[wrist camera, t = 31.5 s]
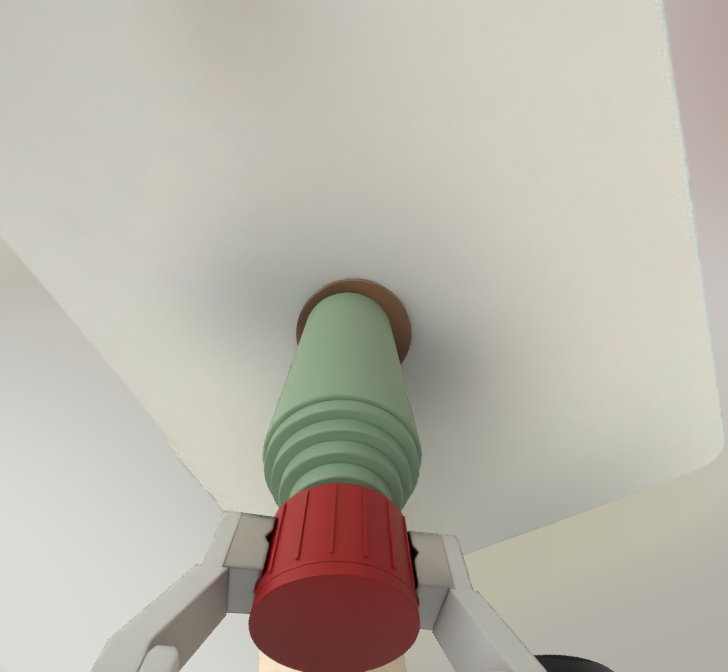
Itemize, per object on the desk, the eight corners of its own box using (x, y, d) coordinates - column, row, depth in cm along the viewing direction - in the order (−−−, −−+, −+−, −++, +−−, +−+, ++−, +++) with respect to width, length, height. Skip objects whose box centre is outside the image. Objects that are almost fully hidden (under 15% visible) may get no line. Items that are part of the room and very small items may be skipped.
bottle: (386, 373, 27) (436, 672, 11) (304, 368, 27) (223, 669, 10) (395, 295, 25) (477, 522, 8) (306, 289, 24) (201, 512, 8)
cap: (276, 473, 10) (251, 565, 8) (421, 490, 10) (440, 582, 8) (266, 570, 12) (243, 670, 9) (391, 582, 12) (400, 681, 10)
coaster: (397, 390, 28) (398, 394, 28) (292, 375, 28) (290, 379, 27) (421, 289, 25) (423, 291, 25) (303, 269, 25) (302, 271, 24)
